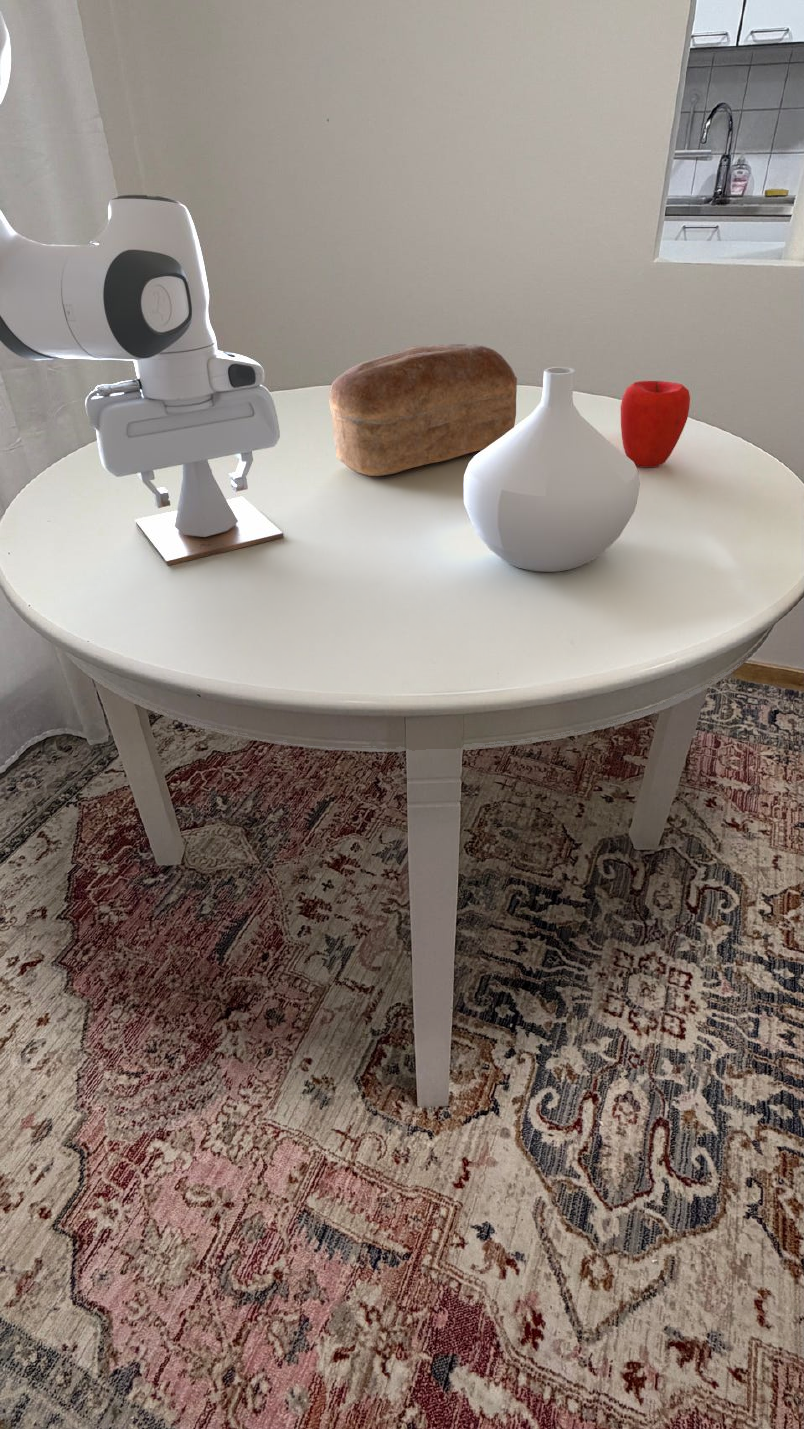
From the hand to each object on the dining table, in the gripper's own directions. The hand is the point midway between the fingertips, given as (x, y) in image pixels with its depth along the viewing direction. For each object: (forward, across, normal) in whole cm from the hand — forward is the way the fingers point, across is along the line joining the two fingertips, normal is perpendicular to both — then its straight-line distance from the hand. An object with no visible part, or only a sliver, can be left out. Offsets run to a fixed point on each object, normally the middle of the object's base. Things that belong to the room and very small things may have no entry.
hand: (202, 497), depth 94 cm
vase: (+4, +30, -27) cm, 41 cm away
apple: (+4, +60, -11) cm, 61 cm away
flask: (+4, 0, 0) cm, 4 cm away
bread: (+4, +36, +9) cm, 37 cm away
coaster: (+4, 0, 0) cm, 4 cm away
